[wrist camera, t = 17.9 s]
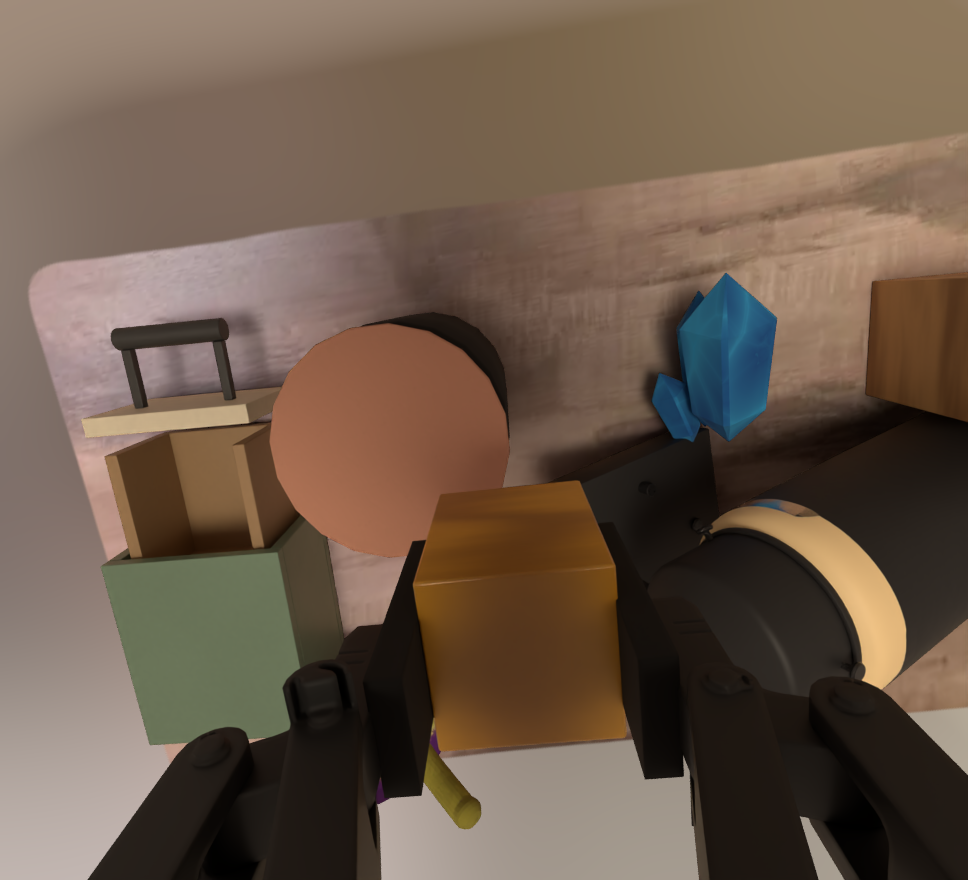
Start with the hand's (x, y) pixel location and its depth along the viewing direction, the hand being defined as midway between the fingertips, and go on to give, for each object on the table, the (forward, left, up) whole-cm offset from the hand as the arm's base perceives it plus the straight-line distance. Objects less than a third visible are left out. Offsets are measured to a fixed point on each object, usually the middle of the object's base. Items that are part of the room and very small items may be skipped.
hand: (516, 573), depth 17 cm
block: (0, 0, -2) cm, 2 cm away
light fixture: (+18, +7, -26) cm, 33 cm away
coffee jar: (-5, -2, -27) cm, 27 cm away
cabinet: (-6, -24, -27) cm, 36 cm away
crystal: (+8, +12, -26) cm, 30 cm away
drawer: (-14, -15, -26) cm, 33 cm away
